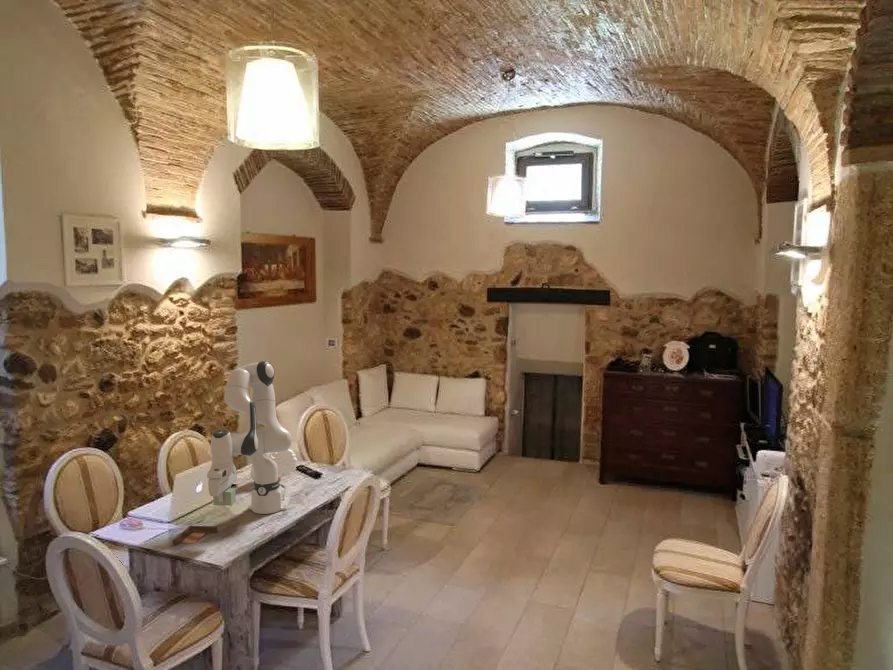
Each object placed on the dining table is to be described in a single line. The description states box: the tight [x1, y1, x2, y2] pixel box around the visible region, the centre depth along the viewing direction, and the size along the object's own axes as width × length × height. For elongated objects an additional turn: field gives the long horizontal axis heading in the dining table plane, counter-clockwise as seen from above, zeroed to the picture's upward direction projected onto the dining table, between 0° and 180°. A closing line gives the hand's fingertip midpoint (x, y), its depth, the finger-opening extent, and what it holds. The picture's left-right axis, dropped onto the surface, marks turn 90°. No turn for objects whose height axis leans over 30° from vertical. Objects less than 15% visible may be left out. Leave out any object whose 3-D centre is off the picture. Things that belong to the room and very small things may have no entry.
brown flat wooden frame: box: [172, 524, 219, 546], centre depth 282 cm, size 15×13×2 cm
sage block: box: [212, 487, 237, 507], centre depth 281 cm, size 4×8×6 cm, turn 85°
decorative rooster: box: [250, 448, 298, 481], centre depth 349 cm, size 25×16×25 cm, turn 73°
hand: (224, 498), depth 281 cm, fingers closed on sage block, 4 cm apart
